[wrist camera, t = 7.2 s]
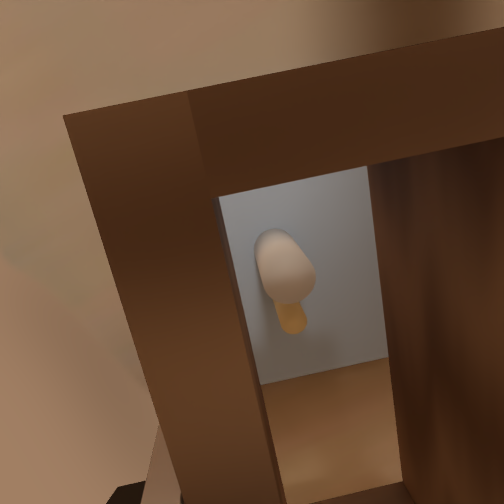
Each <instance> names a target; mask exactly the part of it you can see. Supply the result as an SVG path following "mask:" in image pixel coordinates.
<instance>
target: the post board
mask: <svg viewBox="0 0 504 504" xmlns="http://www.w3.org/2000/svg"><path fill="white" fill-rule="evenodd" d="M219 201H220V205H221V210H222V214H223V219H224V223H225V228H226V232H227V237H228V241H229V246H230V250H231V255H232V259H233V264H234V268H235V273H236V277H237V282H238V286H239V291H240V295H241V300H242V304H243V309H244V313H245V318H246V322H247V327H248V331H249V336H250V340H251V345H252V349H253V354H254V358H255V363H256V367H257V372H258V376H259V381H260V385H264V384H268V383H273V382H277V381H282V380H286V379H291V378H295V377H300V376H305V375H309V374H314V373H318V372H323V371H327V370H332V369H336V368H341V367H346V366H350V365H355V364H359V363H364V362H368V361H373V360H377V359H382V358H387V357H389V356H388V347H387V339H386V330H385V321H384V312H383V304H382V295H381V286H380V277H379V269H378V260H377V251H376V242H375V234H374V225H373V216H372V207H371V198H370V190H369V181H368V172H367V166H363V167H358V168H354V169H349V170H344V171H339V172H335V173H330V174H325V175H321V176H316V177H311V178H306V179H302V180H297V181H292V182H287V183H283V184H278V185H273V186H268V187H264V188H259V189H254V190H249V191H245V192H240V193H235V194H231V195H226V196H221V197H219Z"/></svg>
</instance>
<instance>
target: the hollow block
mask: <svg viewBox="0 0 504 504" xmlns="http://www.w3.org/2000/svg"><path fill="white" fill-rule="evenodd" d="M63 119H64V122H65V125H66V128H67V131H68V135H69V138H70V141H71V144H72V147H73V150H74V154H75V157H76V160H77V163H78V166H79V169H80V173H81V176H82V179H83V182H84V185H85V188H86V192H87V195H88V198H89V201H90V204H91V207H92V211H93V214H94V217H95V220H96V223H97V227H98V230H99V233H100V236H101V239H102V242H103V246H104V249H105V252H106V255H107V258H108V261H109V265H110V268H111V271H112V274H113V277H114V280H115V284H116V287H117V290H118V293H119V296H120V300H121V303H122V306H123V309H124V312H125V315H126V319H127V322H128V325H129V328H130V331H131V334H132V338H133V341H134V344H135V347H136V350H137V353H138V357H139V360H140V363H141V366H142V369H143V373H144V376H145V379H146V382H147V385H148V388H149V392H150V395H151V398H152V401H153V404H154V407H155V410H156V414H157V417H158V419H159V423H160V426H161V430H162V433H163V436H164V439H165V442H166V446H167V449H168V452H169V455H170V458H171V461H172V465H173V468H174V471H175V474H176V477H177V480H178V484H179V487H180V490H181V493H182V496H183V499H184V503H185V504H287V502H286V498H285V493H284V489H283V484H282V480H281V475H280V471H279V466H278V462H277V457H276V453H275V448H274V444H273V439H272V435H271V430H270V426H269V421H268V417H267V412H266V408H265V403H264V399H263V394H262V390H261V385H260V381H259V376H258V372H257V367H256V363H255V358H254V354H253V349H252V345H251V340H250V336H249V331H248V327H247V322H246V318H245V313H244V309H243V304H242V300H241V295H240V291H239V286H238V282H237V277H236V273H235V268H234V264H233V259H232V255H231V250H230V246H229V241H228V237H227V232H226V228H225V223H224V219H223V214H222V210H221V205H220V201H219V197H221V196H226V195H231V194H235V193H240V192H245V191H249V190H254V189H259V188H264V187H268V186H273V185H278V184H283V183H287V182H292V181H297V180H302V179H306V178H311V177H316V176H321V175H325V174H330V173H335V172H339V171H344V170H349V169H354V168H358V167H363V166H367V172H368V181H369V190H370V198H371V207H372V216H373V225H374V234H375V242H376V251H377V260H378V269H379V277H380V286H381V295H382V304H383V312H384V321H385V330H386V339H387V347H388V356H389V365H390V374H391V382H392V391H393V400H394V409H395V417H396V426H397V435H398V444H399V452H400V461H401V470H402V479H403V481H402V482H398V483H394V484H390V485H385V486H381V487H377V488H373V489H369V490H365V491H361V492H356V493H352V494H348V495H344V496H340V497H336V498H332V499H327V500H323V501H319V502H315V503H311V504H504V27H501V28H496V29H491V30H486V31H481V32H476V33H471V34H466V35H461V36H456V37H452V38H447V39H442V40H437V41H432V42H427V43H422V44H417V45H412V46H407V47H402V48H397V49H392V50H387V51H382V52H377V53H372V54H367V55H362V56H357V57H352V58H347V59H342V60H337V61H332V62H327V63H322V64H317V65H312V66H307V67H302V68H297V69H292V70H287V71H282V72H277V73H272V74H267V75H262V76H257V77H252V78H247V79H242V80H237V81H232V82H227V83H222V84H217V85H212V86H207V87H203V88H198V89H193V90H188V91H183V92H178V93H173V94H168V95H163V96H158V97H153V98H148V99H143V100H138V101H133V102H128V103H123V104H118V105H113V106H108V107H103V108H98V109H93V110H88V111H83V112H78V113H73V114H68V115H63Z"/></svg>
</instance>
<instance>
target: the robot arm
mask: <svg viewBox="0 0 504 504" xmlns="http://www.w3.org/2000/svg"><path fill="white" fill-rule="evenodd" d="M106 504H185V503H184V499H183V496H182V493H181V490H180V487H179V484H178V480H177V477H176V474H175V471H174V468H173V465H172V461H171V458H170V455H169V452H168V449H167V446H166V442H165V439H164V436H163V433H162V430H161V426H160V423H159V426H158V431H157V435H156V439H155V444H154V448H153V452H152V457H151V461H150V466H149V470H148V474H147V478H146V481H142V482H138V483H134V484H129V485H124V486H120V487H118V488H117V489H116V490H115V492H114V493H113V494H112V496H111V497H110V499H109V500H108V502H107V503H106Z"/></svg>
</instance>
